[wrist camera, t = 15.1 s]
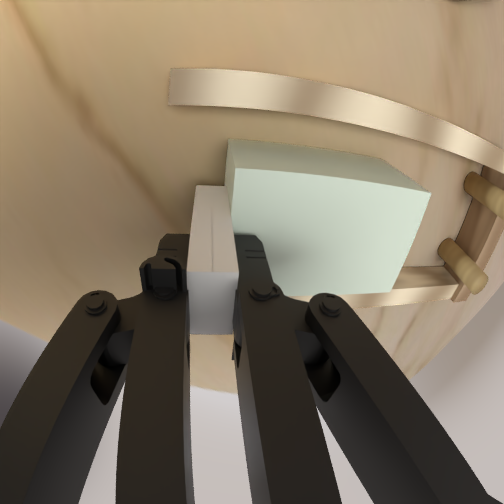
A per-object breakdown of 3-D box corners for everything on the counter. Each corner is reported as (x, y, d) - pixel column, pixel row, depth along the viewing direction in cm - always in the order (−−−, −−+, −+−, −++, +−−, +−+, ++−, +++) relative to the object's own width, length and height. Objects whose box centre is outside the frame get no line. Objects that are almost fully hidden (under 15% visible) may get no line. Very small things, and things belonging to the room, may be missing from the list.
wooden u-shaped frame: (177, 285, 19) (172, 345, 15) (177, 69, 11) (159, 66, 7) (449, 279, 23) (477, 315, 19) (501, 150, 15) (544, 175, 11)
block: (220, 238, 17) (224, 296, 13) (228, 138, 14) (235, 168, 10) (356, 242, 19) (390, 292, 15) (381, 158, 15) (431, 193, 11)
